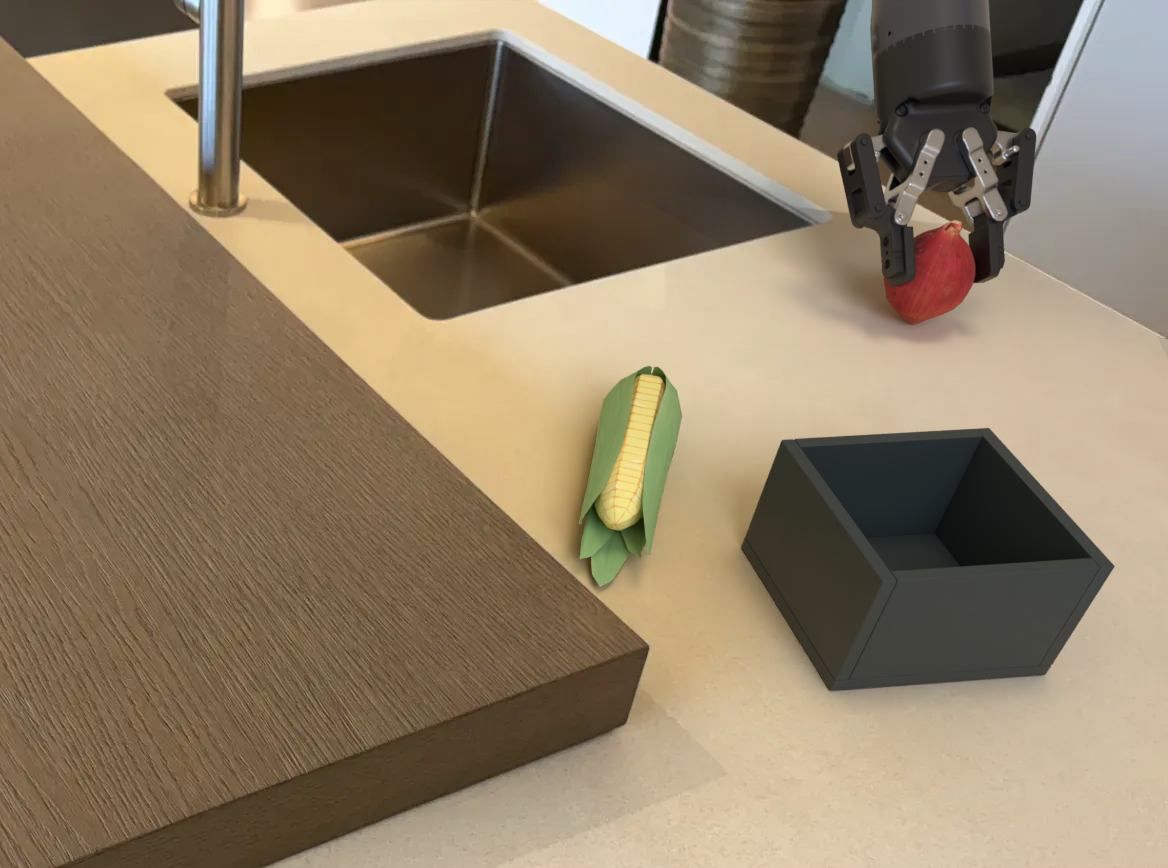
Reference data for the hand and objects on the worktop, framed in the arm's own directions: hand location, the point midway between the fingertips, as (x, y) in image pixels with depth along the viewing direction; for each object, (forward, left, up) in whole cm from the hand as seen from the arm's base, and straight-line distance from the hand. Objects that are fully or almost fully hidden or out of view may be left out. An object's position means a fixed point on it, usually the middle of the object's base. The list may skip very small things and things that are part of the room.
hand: (944, 280), depth 98 cm
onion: (0, -2, -4) cm, 5 cm away
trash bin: (+17, +29, -4) cm, 34 cm away
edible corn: (+29, +17, -4) cm, 34 cm away
